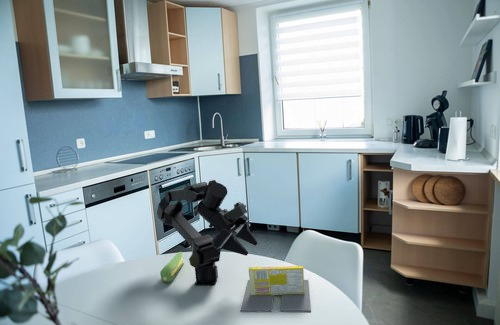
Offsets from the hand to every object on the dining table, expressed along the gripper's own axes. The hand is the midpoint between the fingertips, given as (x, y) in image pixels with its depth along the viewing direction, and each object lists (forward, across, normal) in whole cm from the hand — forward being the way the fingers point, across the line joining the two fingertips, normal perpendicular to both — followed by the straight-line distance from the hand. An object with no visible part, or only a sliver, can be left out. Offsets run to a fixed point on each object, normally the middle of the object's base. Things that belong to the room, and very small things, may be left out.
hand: (252, 249), depth 111 cm
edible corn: (-16, +9, +31) cm, 36 cm away
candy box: (+14, 0, +6) cm, 15 cm away
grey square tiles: (+14, 0, +6) cm, 15 cm away
